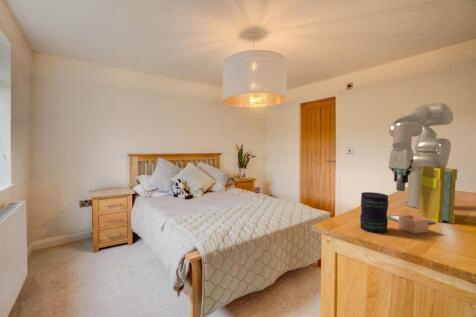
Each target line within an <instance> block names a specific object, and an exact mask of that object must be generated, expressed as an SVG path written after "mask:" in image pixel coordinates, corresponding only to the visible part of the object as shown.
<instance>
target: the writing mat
mask: <svg viewBox="0 0 476 317" xmlns="http://www.w3.org/2000/svg"><path fill="white" fill-rule="evenodd" d="M401 215H402V214H395V215H387V219H388V220H390V221H393V222H396V223H398V224H399V216H401ZM403 215H411V214H410V213H407V214H405V213H404V214H403ZM434 224H436V222H435V221H433V220H431V219H428V225H434Z"/></svg>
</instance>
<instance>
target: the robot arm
mask: <svg viewBox="0 0 476 317" xmlns="http://www.w3.org/2000/svg"><path fill="white" fill-rule="evenodd" d="M453 121H454V113H453V111H452V110H451V109H450V107H449V106H448V104H446V103H445V102H436V103H426V104H422V105H419V106H417V107H416V108H415V109H414V110H413V111H412V112H411V113H410V114H407V115H405V116H401V117H399V118H397V119H395V120H394V121H393V122H392V123H391V124H390V126H389V128H388V134H389V135H390V136H391V137H392V139H393V142H392V144H391V147H392V149H391V150H390V154H389V160H388V168H389V170H391V172H392V174H393V175H394V176H393V177H394V178H393V182H395V183H397V169H403V175H402V183H405V184H407V183H408V184H407V186H408V187H407V201H404V202H403V205H405V206H408V207H410V208H417V209H419V203H420V182H421V166H434V167H442V168H447V166H448V163H449V158H450V155H451V151H452V142H451V141H450V139H448V138H443V137H441V138H438V133H437V132H436V131H435V130H434V129H433V128H431V126H432V127H435V126H447V125H450V124H452V122H453ZM413 137H414V138H415V137H417V140H416V142H415V146H414V151H415V152H414V151H413V149H412V145H413V144H412V142H413Z"/></svg>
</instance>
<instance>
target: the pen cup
mask: <svg viewBox="0 0 476 317" xmlns="http://www.w3.org/2000/svg"><path fill="white" fill-rule="evenodd" d="M400 215H401V216H399V223H398V229H399V230H402V231H405V232H407V233H410V234H412V235H420V234H427V233H429V232H428V229H429V224H428V220H429V218H424V217H421V216H417V215H414V214H410V215H404V214H400Z"/></svg>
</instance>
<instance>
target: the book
mask: <svg viewBox="0 0 476 317" xmlns="http://www.w3.org/2000/svg"><path fill="white" fill-rule="evenodd" d="M458 170H459V169H457V168H450V167H446V168H442V167H434V166H421V182H420V203H419V208H418V213H419V214H420V215H422V216H424V217H426V218H427V219H429V220H431V221H434V222H435V223H440V224H443V222H446V223H448V224H455V219H456V218H455V217H456V213H455V198H456V196H455V195H456V182H457V179H458Z"/></svg>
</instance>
